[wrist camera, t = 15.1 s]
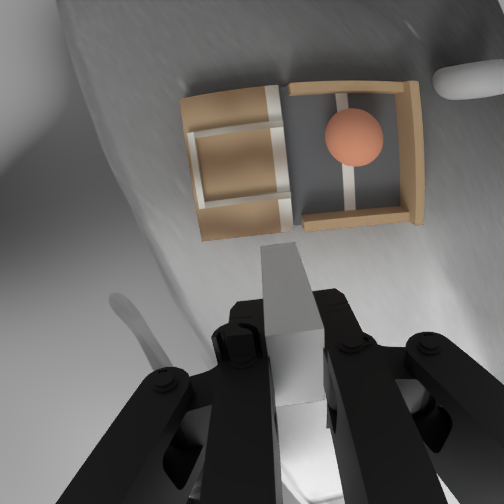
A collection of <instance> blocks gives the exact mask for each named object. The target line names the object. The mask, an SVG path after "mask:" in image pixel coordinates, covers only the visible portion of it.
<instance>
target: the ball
mask: <svg viewBox="0 0 504 504" xmlns="http://www.w3.org/2000/svg"><path fill="white" fill-rule="evenodd" d="M325 142H326V146H327V148H328V150H329V152H330V153H331V155H332V156H333V157H334V158H335V159H336V160H338V161H339V162H341V163H343V164H345V165H348V166H354V167H357V166H363V165H366V164H369V163H370V162H372V161H373V160H375V159H376V157H377V156H378V155H379V153H380V152H381V149H382V146H383V132H382V129H381V126H380V125H379V123H378V121H377V120H376V119H375V118H374V117H373V116H372V115H371V114H369V113H368V112H366V111H364V110H361V109H355V108H350V109H345V110H342V111H339V112H338V113H336V114H335V115H334V116H333V117H332V118H331V119H330V120H329V122H328V124H327V126H326V130H325Z"/></svg>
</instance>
